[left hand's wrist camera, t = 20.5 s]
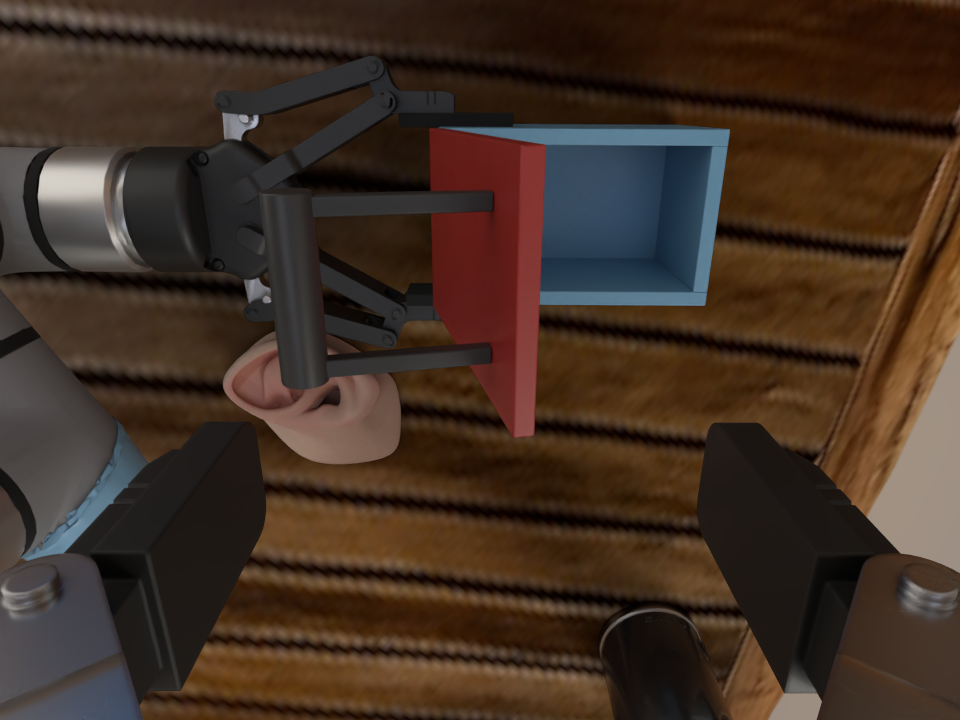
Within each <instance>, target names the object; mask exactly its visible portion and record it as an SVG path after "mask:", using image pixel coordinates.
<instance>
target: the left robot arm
mask: <svg viewBox="0 0 960 720" xmlns="http://www.w3.org/2000/svg"><path fill="white" fill-rule="evenodd" d="M697 513H698V522H699V526H700V530H701V533H702V535H703V538H704V540H705V542H706V543H707V545H708V547H709V549H710V551H711V553H712V555H713V557H714V559H715V561H716V563H717V565H718V567H719V568H720V570H721V572H722V574H723V576H724V578H725V580H726V582H727V584H728V586H729V588H730V590H731V592H732V594H733V595H734V597H735V599H736V601H737V603H738V605H739V607H740V609H741V611H742V613H743V615H744V617H745V619H746V620H747V622H748V624H749V626H750V628H751V630H752V632H753V634H754V636H755V638H756V640H757V642H758V644H759V646H760V647H761V649H762V651H763V653H764V655H765V657H766V659H767V661H768V663H769V665H770V667H771V669H772V671H773V672H774V674H775V676H776V678H777V680H778V682H779V684H780V686H781V688H782V690H783V692H784V693H818V695H819V697H820V699H821V700H822V704H821V707H820V711H819V714H818V717H817V720H960V573H958V572H956V571H955V570H953V569H951V568H949V567H946V566H944V565H942V564H939V563H937V562H934V561H931V560H928V559H925V558H921V557H917V556H913V555H907V554H901V553H900V552H899V551H898V550H897V549H896V548H895V547H894V546H893V545H892V544H891V543H890V542H889V541H888V540H887V539H886V538H885V537H884V535H883V534H882V533H881V532H880V531H879V530H878V529H877V528H876V527H875V526H874V525H873V524H872V523H871V522H870V521H869V520H868V518H867V517H866V516H865V515H864V514H863V513H862V512H861V511H860V510H859V509H858V508H857V507H856V506H855V505H851V500H850V499H849V498H848V497H847V496H846V495H845V494H844V493H843V492H842V491H841V490H840V489H837V488H836V485H835V483H834V482H833V481H832V480H831V479H830V478H829V477H828V476H827V475H826V474H825V473H824V472H823V471H822V470H821V469H820V468H819V467H818V466H817V465H815V464H813V463H812V462H810V461H808V460H806V459H805V458H803V457H801V456H800V455H798V454H796V453H794V452H793V451H784V450H783V449H782V448H781V446H780V445H779V444H778V443H777V442H776V441H775V440H774V439H773V437H772V436H771V435H770V434H769V433H768V432H767V431H766V430H765V428H764V427H763V426H762V425H761V424H759V423H713V424H712V425H711V427H710V428H709V431H708V434H707V440H706V446H705V453H704V460H703V466H702V473H701V480H700V486H699V493H698V501H697ZM265 515H266V497H265V490H264V483H263V476H262V470H261V463H260V456H259V449H258V442H257V436H256V432H255V429H254V426H253V425H252V424H251V423H250V422H205V423H203V424H202V425H201V426H200V427H199V428H198V430H197V431H196V432H195V433H194V434H193V435H192V436H191V437H190V439H189V440H188V441H187V442H186V443H185V444H184V445H183V447H182V448H181V449H180V450H171V451H169V452H168V453H166V454H164V455H162V456H161V457H159V458H157V459H156V460H154V461H152V462H151V463H149V464H147V465H146V466H145V467H144V468H143V469H142V470H141V471H140V472H139V473H138V474H137V475H136V476H135V477H134V478H133V479H132V480H131V482H130V483H129V484H128V488H124V489H123V490H122V491H121V492H120V493H119V494H118V495H117V497H116V498H115V499H114V500H113V504H109V505H108V506H107V507H106V508H105V509H104V510H103V512H102V513H101V514H100V515H99V516H98V517H97V518H96V519H95V520H94V521H93V522H92V523H91V524H90V525H89V527H88V528H87V529H86V530H85V531H84V532H83V533H82V534H81V535H80V536H79V537H78V538H77V539H76V540H75V541H74V543H73V544H72V545H71V546H70V547H69V548H68V549H67V550H66V551H65V552H64V553H61V554H53V555H47V556H43V557H39V558H35V559H32V560H29V561H26V562H23V563H21V564H18V565H16V566H14V567H11V568H9V569H7V570H5V571H4V572H2V573H0V720H143V717H142V714H141V710H140V707H139V706H140V704H141V702H142V700H143V699H144V697H145V695H146V693H147V692H148V691H181V689H182V687H183V685H184V683H185V681H186V679H187V677H188V676H189V674H190V672H191V670H192V668H193V666H194V664H195V662H196V660H197V658H198V656H199V654H200V652H201V650H202V648H203V646H204V644H205V642H206V640H207V639H208V637H209V635H210V633H211V631H212V629H213V627H214V625H215V623H216V621H217V619H218V617H219V615H220V613H221V611H222V609H223V607H224V605H225V603H226V601H227V600H228V598H229V596H230V594H231V592H232V590H233V588H234V586H235V584H236V582H237V580H238V578H239V576H240V574H241V572H242V570H243V568H244V566H245V564H246V562H247V561H248V559H249V557H250V555H251V553H252V551H253V549H254V547H255V545H256V543H257V541H258V539H259V537H260V535H261V533H262V530H263V526H264V522H265ZM701 639H702V638H701ZM701 639H700V635H699V633H698V630H697V628H696V626H695V624H694V622H693V620H692V619H691V618H690V617H689V616H688V615H687V614H686V613H685V612H683V611H682V610H680V609H678V608H676V607H674V606H671V605H668V604H663V603H643V604H638V605H634V606H631V607H628V608H626V609H624V610H622V611H620V612H619V613H617V614H616V615H614V616H613V617H612V618H611V619H610V620H609V621H608V622H607V623H606V624H605V626H604V627H603V629H602V631H601V633H600V636H599V641H598V648H599V653H600V657H601V661H602V664H603V666H604V674H605V679H606V684H607V688H608V693H609V697H610V702H611V706H612V711H613V715H614V720H733V718H732V716H731V713H730V711H729V708H728V706H727V704H726V701H725V699H724V696H723V694H722V692H721V689H720V687H719V684H718V682H717V679H716V677H715V675H714V672H713V670H712V667H711V663H709V662H710V660H709V657H708V654H707V651H706V648H705V645H704V643H703V645H704V648H705V650H704V648H703V646H702V643H701ZM702 642H703V640H702ZM705 651H706V653H705ZM706 654H707V655H706Z"/></svg>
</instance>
